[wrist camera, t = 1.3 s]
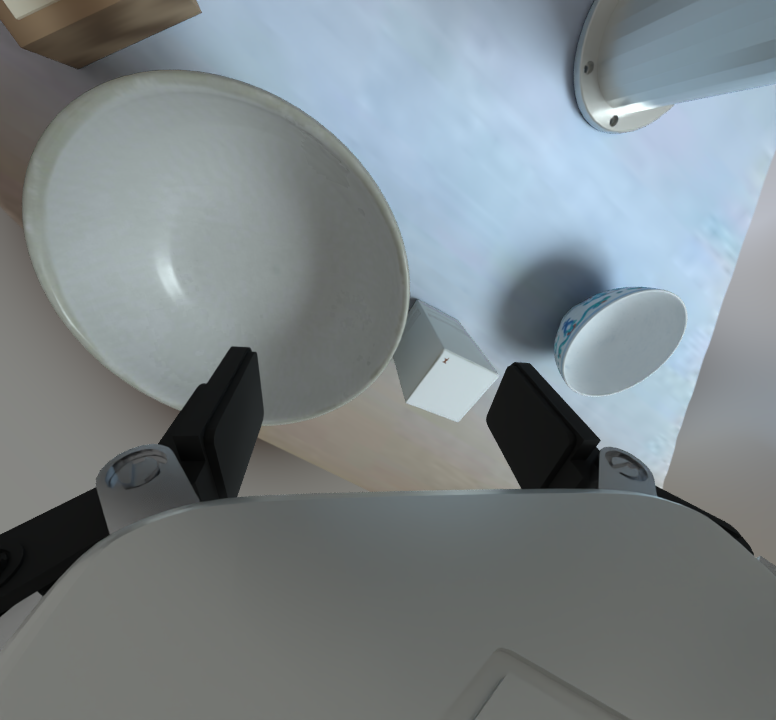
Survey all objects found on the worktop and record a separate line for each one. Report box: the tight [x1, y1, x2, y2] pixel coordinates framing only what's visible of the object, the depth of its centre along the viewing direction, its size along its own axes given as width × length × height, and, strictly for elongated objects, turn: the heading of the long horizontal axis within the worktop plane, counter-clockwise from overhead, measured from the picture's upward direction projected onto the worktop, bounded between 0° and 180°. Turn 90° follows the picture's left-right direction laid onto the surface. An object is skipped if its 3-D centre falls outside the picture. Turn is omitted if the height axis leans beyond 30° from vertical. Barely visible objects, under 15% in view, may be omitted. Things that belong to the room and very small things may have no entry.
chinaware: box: [554, 287, 687, 397], centre depth 39 cm, size 15×15×8 cm
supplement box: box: [393, 299, 499, 422], centre depth 35 cm, size 7×7×13 cm
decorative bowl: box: [22, 70, 410, 426], centre depth 28 cm, size 27×27×12 cm
